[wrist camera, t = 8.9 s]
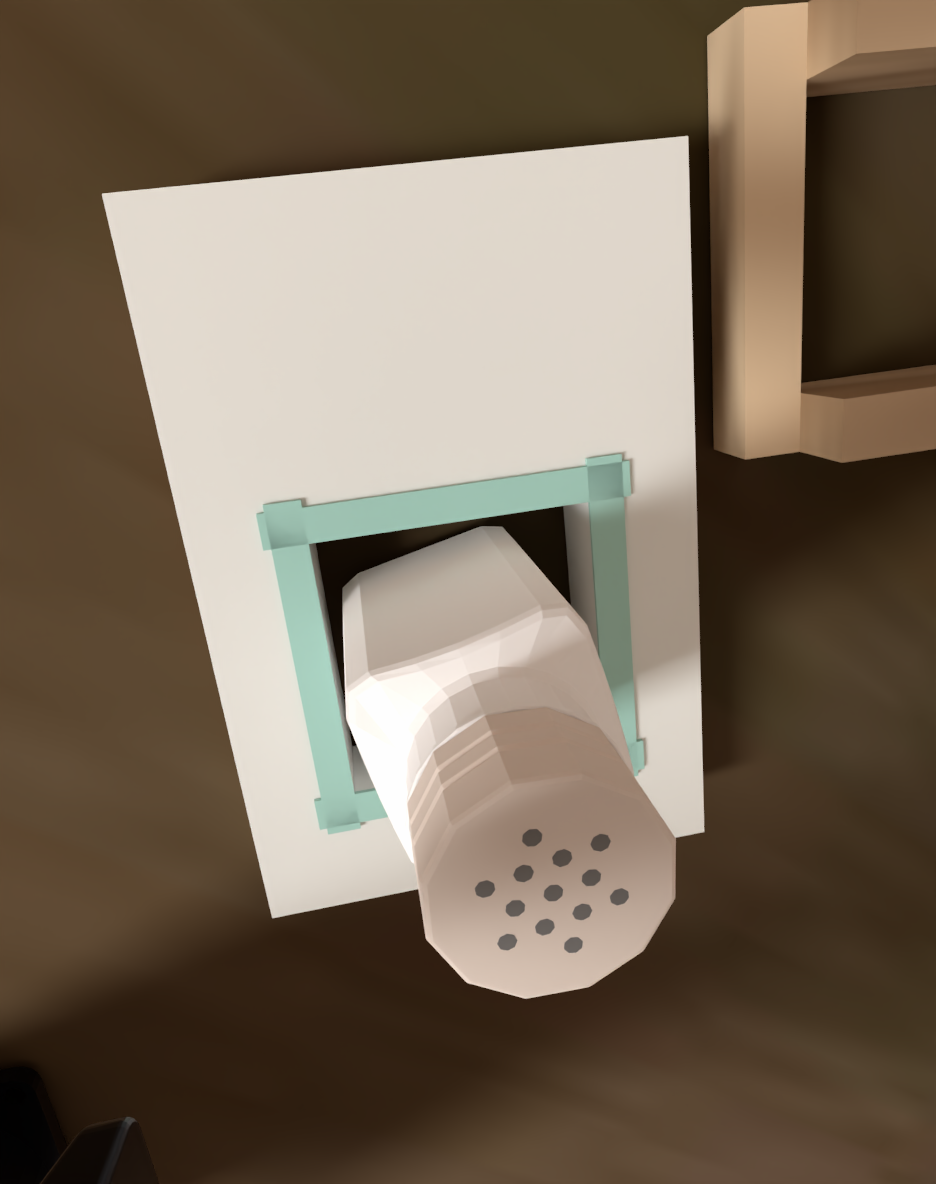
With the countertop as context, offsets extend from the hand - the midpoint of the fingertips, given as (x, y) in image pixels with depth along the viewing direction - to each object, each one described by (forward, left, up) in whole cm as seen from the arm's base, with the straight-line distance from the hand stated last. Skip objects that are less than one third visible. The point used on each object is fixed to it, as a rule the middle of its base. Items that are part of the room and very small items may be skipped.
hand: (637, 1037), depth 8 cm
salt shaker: (0, 0, -12) cm, 12 cm away
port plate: (+2, 0, -12) cm, 12 cm away
